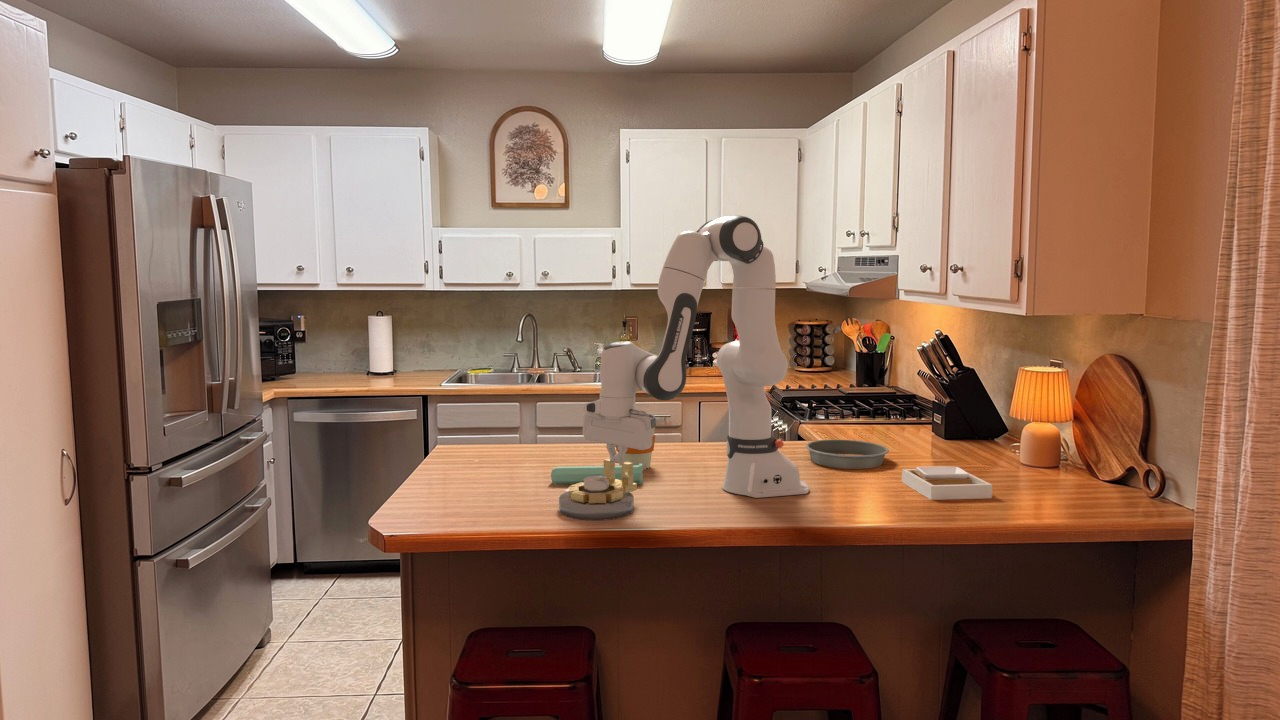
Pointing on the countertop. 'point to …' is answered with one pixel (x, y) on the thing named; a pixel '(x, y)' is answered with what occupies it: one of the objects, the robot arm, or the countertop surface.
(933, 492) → the dish tray
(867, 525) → the countertop surface
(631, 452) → the reusable coffee cup
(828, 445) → the cake pan
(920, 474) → the soap dish
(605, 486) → the grey round piece
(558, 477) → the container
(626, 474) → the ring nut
